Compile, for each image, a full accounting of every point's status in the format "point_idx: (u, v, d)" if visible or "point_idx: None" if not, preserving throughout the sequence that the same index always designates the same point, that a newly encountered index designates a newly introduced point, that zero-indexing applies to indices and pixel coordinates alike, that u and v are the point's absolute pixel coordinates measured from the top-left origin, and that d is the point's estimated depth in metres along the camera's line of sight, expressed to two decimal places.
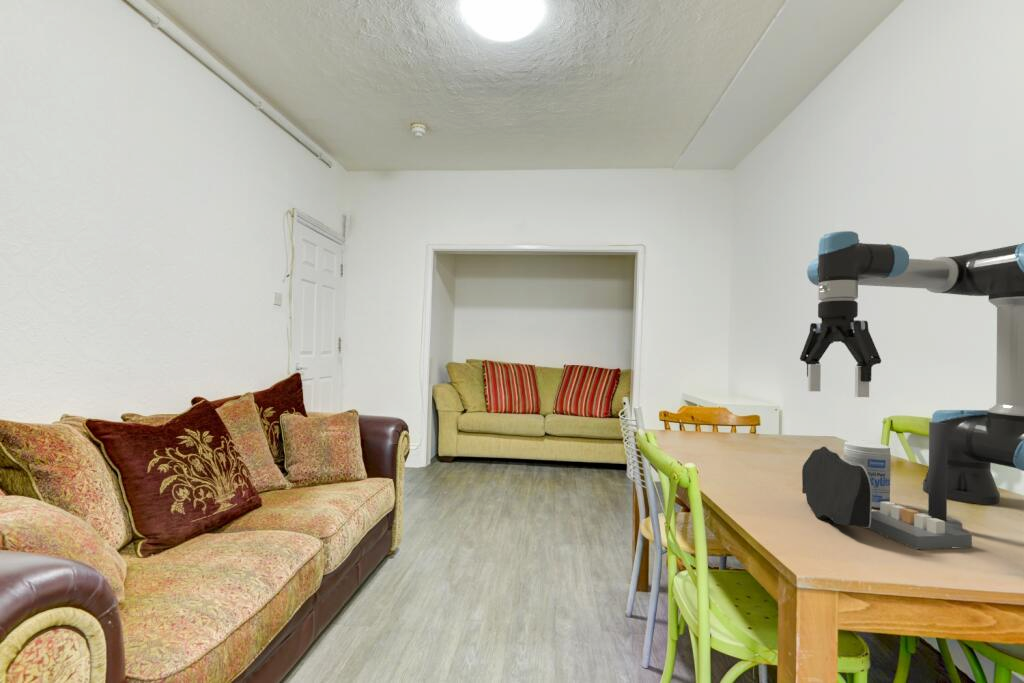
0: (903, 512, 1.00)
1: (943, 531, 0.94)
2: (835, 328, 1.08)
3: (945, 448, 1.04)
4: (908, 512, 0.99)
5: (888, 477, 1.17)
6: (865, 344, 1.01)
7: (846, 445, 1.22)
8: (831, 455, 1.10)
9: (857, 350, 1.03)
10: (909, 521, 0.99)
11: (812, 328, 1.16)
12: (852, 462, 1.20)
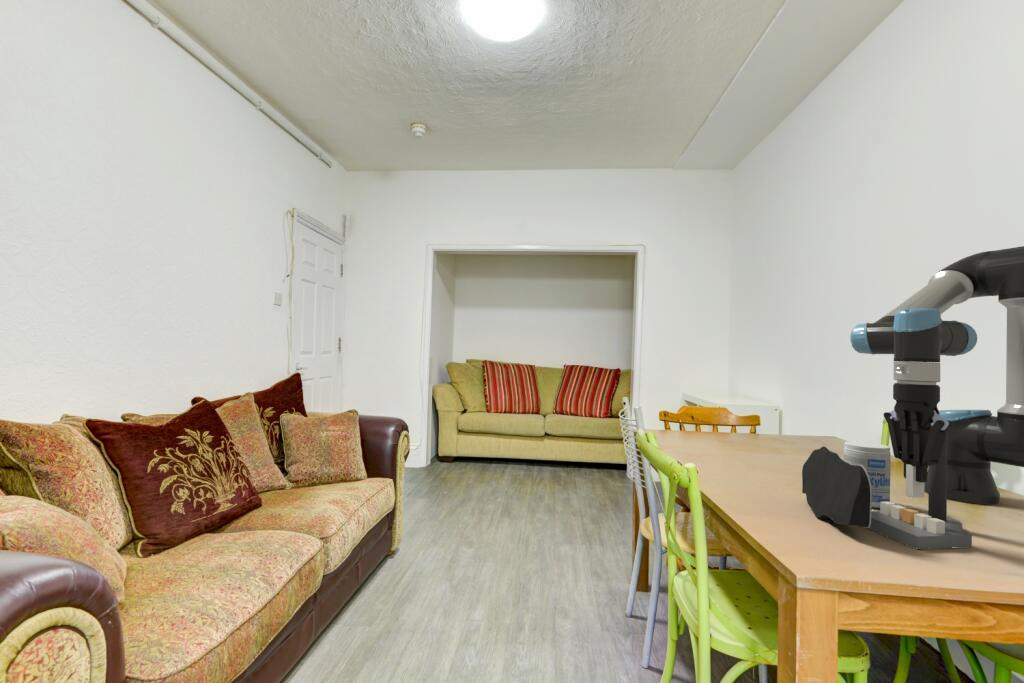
0: (903, 512, 1.00)
1: (943, 531, 0.94)
2: (915, 415, 0.98)
3: (945, 448, 1.04)
4: (908, 512, 0.99)
5: (888, 477, 1.17)
6: (933, 447, 0.96)
7: (846, 445, 1.22)
8: (831, 455, 1.10)
9: (921, 449, 0.98)
10: (909, 521, 0.99)
11: (888, 417, 1.05)
12: (852, 462, 1.20)
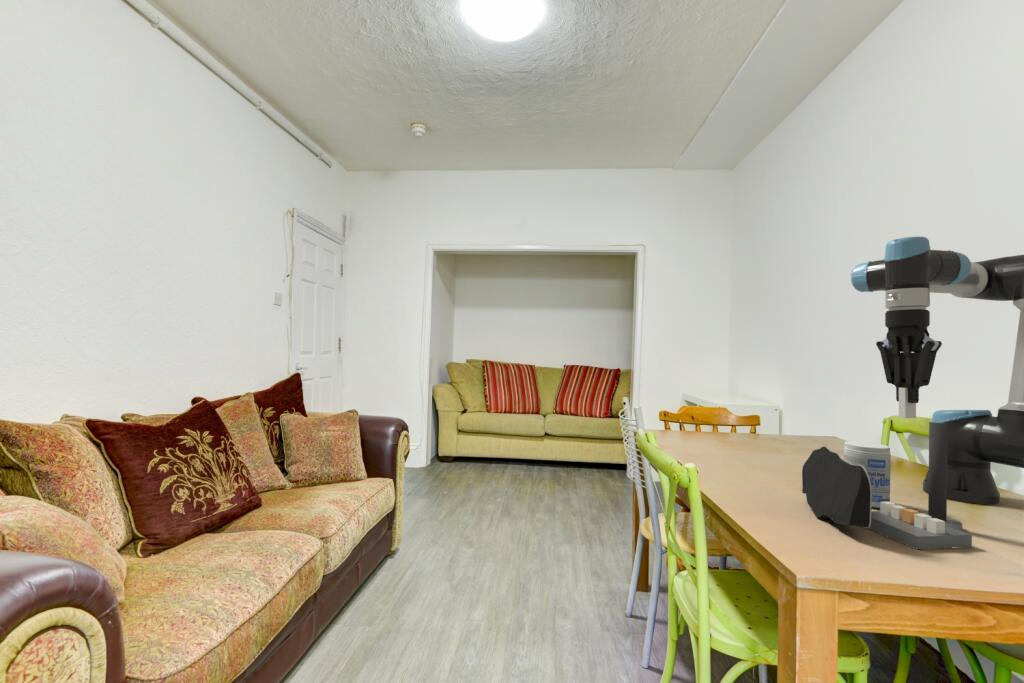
0: (903, 512, 1.00)
1: (943, 531, 0.94)
2: (906, 339, 1.03)
3: (945, 448, 1.04)
4: (908, 512, 0.99)
5: (888, 477, 1.17)
6: (924, 367, 1.00)
7: (846, 445, 1.22)
8: (831, 455, 1.10)
9: (913, 371, 1.03)
10: (909, 521, 0.99)
11: (880, 345, 1.10)
12: (852, 462, 1.20)
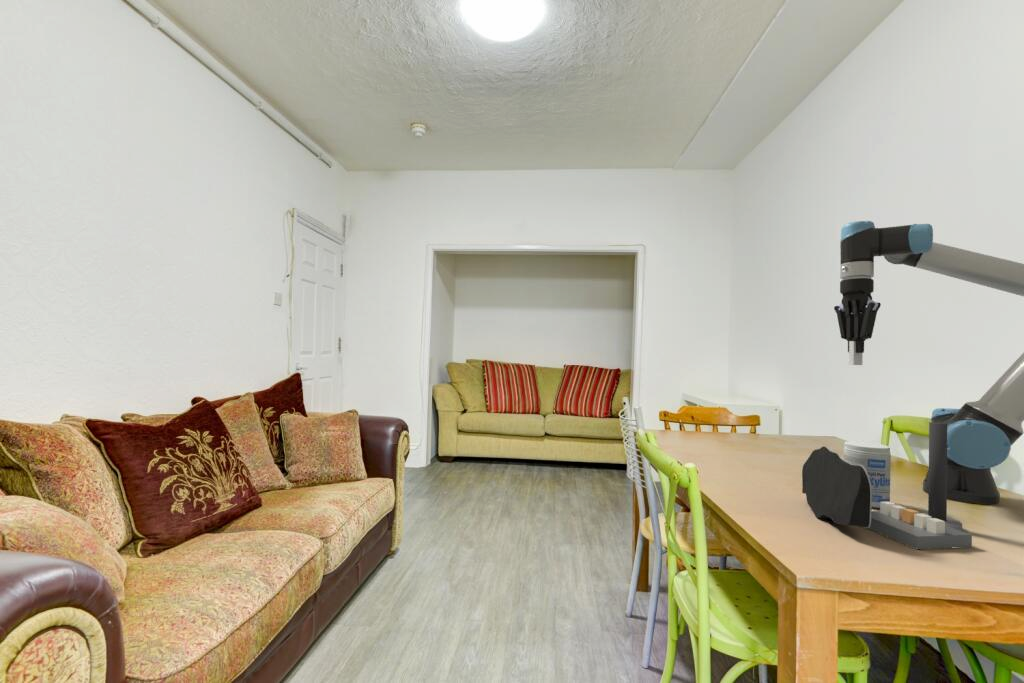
0: (903, 512, 1.00)
1: (943, 531, 0.94)
2: (854, 302, 1.30)
3: (945, 448, 1.04)
4: (908, 512, 0.99)
5: (888, 477, 1.17)
6: (867, 323, 1.28)
7: (846, 445, 1.22)
8: (831, 455, 1.10)
9: (859, 327, 1.30)
10: (909, 521, 0.99)
11: (837, 309, 1.37)
12: (852, 462, 1.20)
